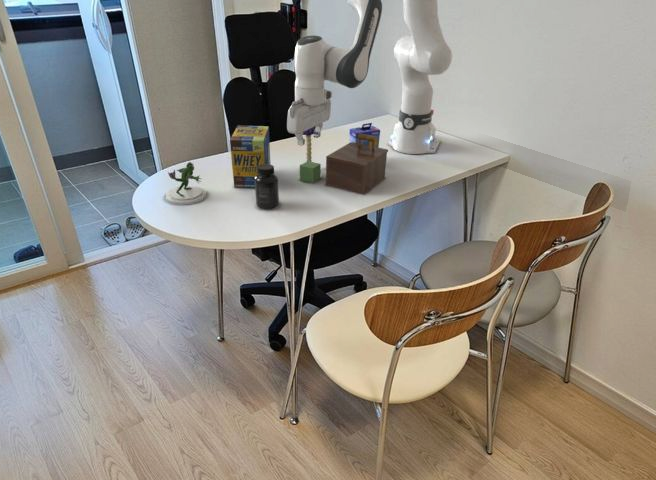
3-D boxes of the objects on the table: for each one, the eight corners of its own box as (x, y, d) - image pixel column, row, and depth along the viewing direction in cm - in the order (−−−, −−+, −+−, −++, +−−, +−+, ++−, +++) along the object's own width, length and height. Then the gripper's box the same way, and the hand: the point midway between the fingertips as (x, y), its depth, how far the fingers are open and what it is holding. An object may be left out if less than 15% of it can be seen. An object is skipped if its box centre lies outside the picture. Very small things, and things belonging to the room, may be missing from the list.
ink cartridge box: (354, 167, 174) (356, 126, 166) (347, 162, 178) (348, 121, 170) (378, 163, 178) (381, 122, 170) (370, 158, 182) (373, 118, 174)
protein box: (233, 188, 157) (229, 139, 149) (241, 170, 170) (237, 124, 162) (266, 188, 157) (263, 140, 149) (271, 170, 170) (269, 125, 162)
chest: (348, 170, 172) (349, 145, 167) (384, 178, 166) (387, 152, 161) (325, 185, 160) (326, 158, 155) (363, 194, 154) (365, 167, 149)
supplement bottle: (284, 205, 147) (282, 166, 141) (267, 212, 143) (264, 173, 136) (268, 198, 151) (266, 160, 144) (251, 205, 147) (248, 166, 140)
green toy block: (307, 175, 167) (307, 160, 164) (320, 178, 165) (320, 163, 162) (299, 179, 164) (299, 165, 161) (312, 183, 162) (312, 168, 159)
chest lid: (350, 144, 167) (351, 129, 164) (388, 151, 161) (389, 136, 159) (326, 158, 155) (326, 143, 152) (365, 167, 149) (366, 151, 147)
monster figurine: (213, 197, 151) (209, 164, 146) (178, 208, 145) (172, 175, 139) (193, 185, 159) (188, 154, 153) (158, 195, 152) (152, 163, 146)
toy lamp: (313, 172, 169) (313, 123, 160) (300, 171, 170) (299, 122, 160) (316, 167, 173) (316, 119, 164) (303, 166, 174) (303, 118, 164)
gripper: (299, 104, 141) (299, 151, 148) (334, 91, 156) (333, 134, 163) (281, 101, 143) (282, 148, 151) (317, 88, 158) (317, 131, 166)
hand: (309, 141), depth 157 cm, fingers open, 8 cm apart
